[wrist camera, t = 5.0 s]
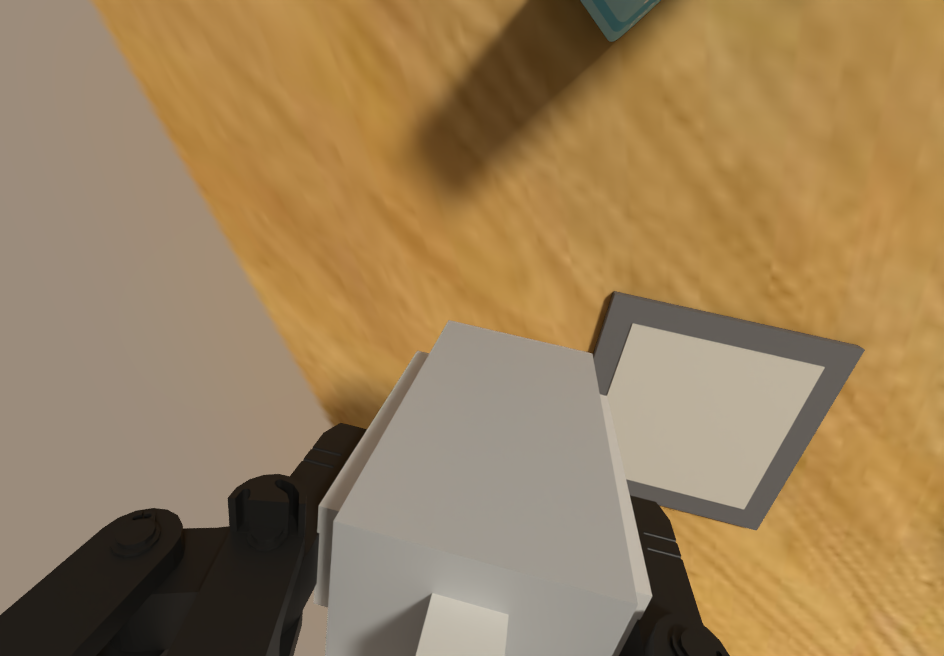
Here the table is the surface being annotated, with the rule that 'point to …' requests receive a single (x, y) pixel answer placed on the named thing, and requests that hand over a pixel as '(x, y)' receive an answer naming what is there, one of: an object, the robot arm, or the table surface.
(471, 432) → the usb dongle
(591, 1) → the data package
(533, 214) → the table surface
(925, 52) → the table surface
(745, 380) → the charcoal picture frame
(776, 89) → the table surface
